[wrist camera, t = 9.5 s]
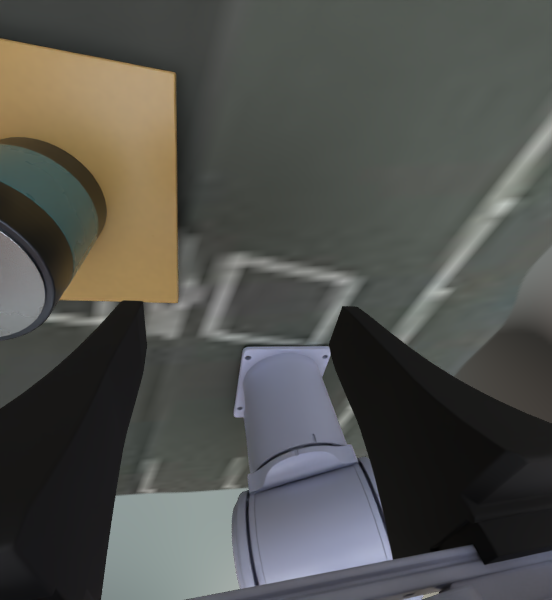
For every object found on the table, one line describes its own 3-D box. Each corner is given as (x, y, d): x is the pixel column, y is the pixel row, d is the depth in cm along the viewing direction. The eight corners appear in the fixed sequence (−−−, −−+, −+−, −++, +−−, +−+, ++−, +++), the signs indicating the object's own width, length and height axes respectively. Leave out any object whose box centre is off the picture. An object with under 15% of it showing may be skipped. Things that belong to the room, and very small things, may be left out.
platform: (180, 282, 22) (177, 303, 20) (-28, 273, 19) (-55, 297, 17) (178, 71, 15) (174, 72, 13) (-145, 8, 12) (-213, -3, 10)
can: (113, 253, 17) (70, 344, 12) (-4, 246, 16) (-117, 345, 10) (98, 146, 14) (29, 199, 9) (-49, 126, 13) (-244, 174, 7)
